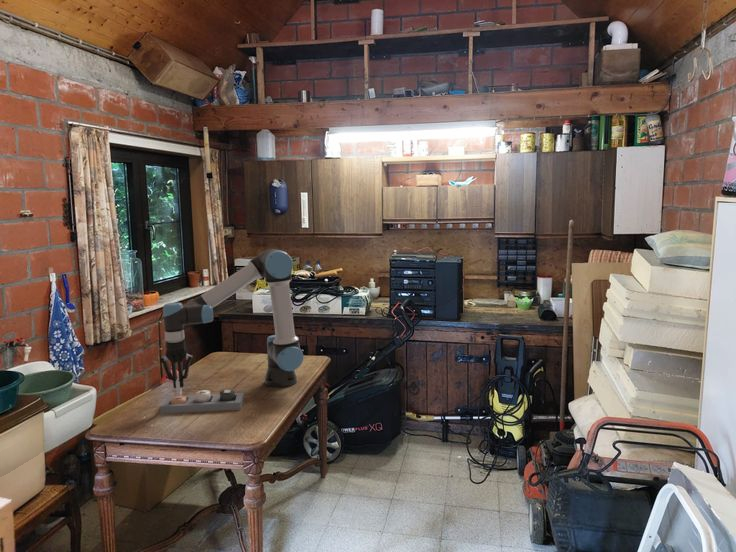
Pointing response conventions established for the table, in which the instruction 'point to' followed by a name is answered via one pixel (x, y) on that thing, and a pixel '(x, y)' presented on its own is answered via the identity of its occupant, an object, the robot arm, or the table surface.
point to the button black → (227, 395)
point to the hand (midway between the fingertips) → (179, 394)
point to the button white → (203, 396)
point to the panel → (202, 404)
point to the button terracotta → (178, 400)
